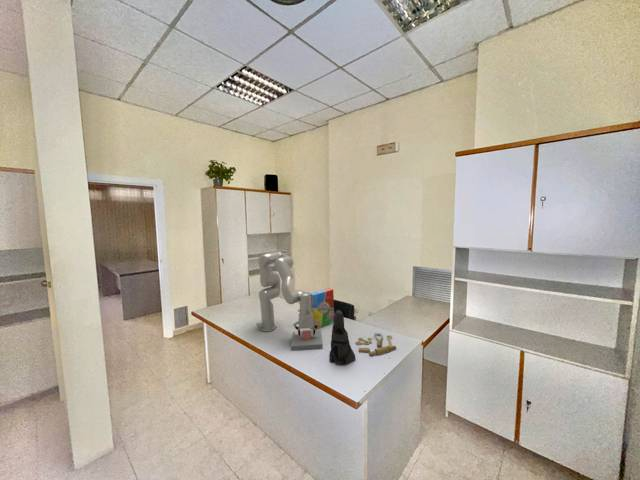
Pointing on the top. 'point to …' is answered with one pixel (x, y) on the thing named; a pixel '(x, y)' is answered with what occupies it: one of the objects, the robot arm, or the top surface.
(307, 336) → the pink block
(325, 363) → the top surface
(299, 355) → the top surface
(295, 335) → the socket
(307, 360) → the top surface
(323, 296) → the game box
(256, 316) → the top surface
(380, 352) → the toy baking set
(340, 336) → the black tall figure
